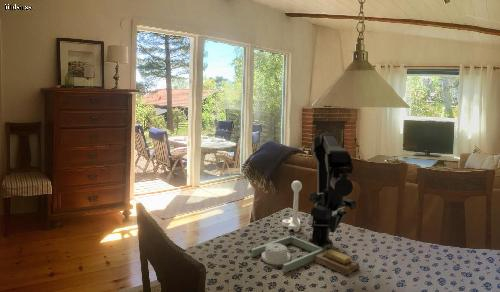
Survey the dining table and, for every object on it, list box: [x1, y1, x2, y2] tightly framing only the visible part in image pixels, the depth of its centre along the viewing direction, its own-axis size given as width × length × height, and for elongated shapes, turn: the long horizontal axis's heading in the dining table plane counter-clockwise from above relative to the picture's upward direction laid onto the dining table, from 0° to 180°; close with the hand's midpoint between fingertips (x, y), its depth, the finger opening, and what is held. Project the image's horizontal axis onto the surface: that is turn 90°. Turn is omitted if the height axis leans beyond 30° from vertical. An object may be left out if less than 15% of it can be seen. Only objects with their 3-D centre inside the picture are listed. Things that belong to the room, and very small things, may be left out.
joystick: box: [281, 180, 303, 233], centre depth 167 cm, size 11×8×20 cm
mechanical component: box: [261, 243, 291, 266], centre depth 137 cm, size 10×4×10 cm
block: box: [325, 249, 351, 266], centre depth 134 cm, size 8×3×4 cm, turn 42°
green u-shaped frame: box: [250, 235, 326, 274], centre depth 139 cm, size 20×16×2 cm
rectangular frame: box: [314, 252, 360, 276], centre depth 134 cm, size 7×12×2 cm, turn 42°
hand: (332, 232), depth 134 cm, fingers closed
